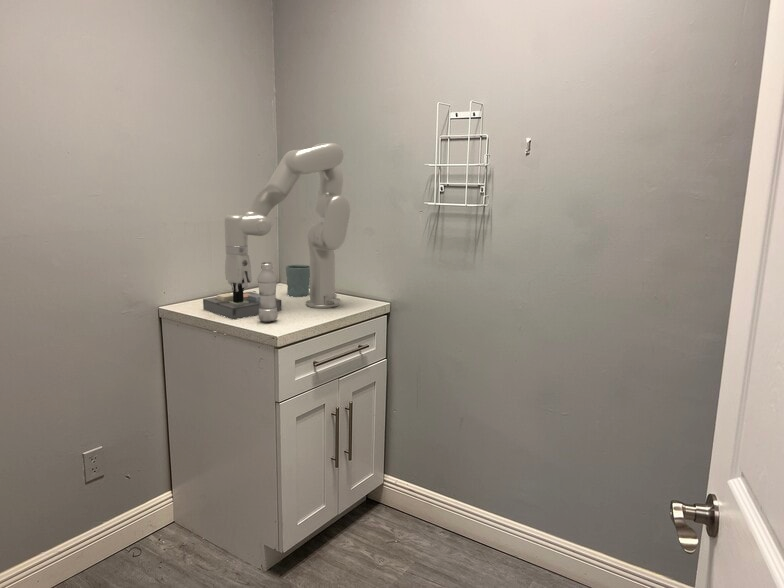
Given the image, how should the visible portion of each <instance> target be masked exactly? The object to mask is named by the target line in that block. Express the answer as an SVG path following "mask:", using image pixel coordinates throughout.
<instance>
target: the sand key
mask: <svg viewBox="0 0 784 588" xmlns="http://www.w3.org/2000/svg"><path fill="white" fill-rule="evenodd" d="M216 297H217V300H220V301H223V302H225V301H231V300H233V293H223V294H222V293H221V294H217V295H216Z"/></svg>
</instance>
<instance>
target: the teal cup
mask: <svg viewBox="0 0 784 588" xmlns="http://www.w3.org/2000/svg"><path fill="white" fill-rule="evenodd" d="M285 274H286V275H285V276H286V285H287V286H286V287H287V296H288V295H289V296H288V297H291V296H293V297H292V298H303V296H305V297H308V296H309V295H310V265H308V264H307V265H306V264H289V265H286V266H285ZM307 295H308V296H307Z"/></svg>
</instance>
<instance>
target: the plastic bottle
mask: <svg viewBox="0 0 784 588" xmlns="http://www.w3.org/2000/svg"><path fill="white" fill-rule="evenodd" d="M260 269H261V270H260V272H259V274H258V276H257V279H256V280H257V286H258V287H257V288H258V292H259V293H258V294H260V301H259V310H258V315H257V317H258V319H259V321H260V322H264V323H271V322H275V321H277V318H278V315H279V314H278V313H279V311H277V307H276V299H277V295H276V293H277V285H278V284H277V283H278V277H277V275H276V273H275V271H274V270H273V269H274V267H273V262H271V261H269V262H268V261H267V262H264V261H263V262H261V266H260Z"/></svg>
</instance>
